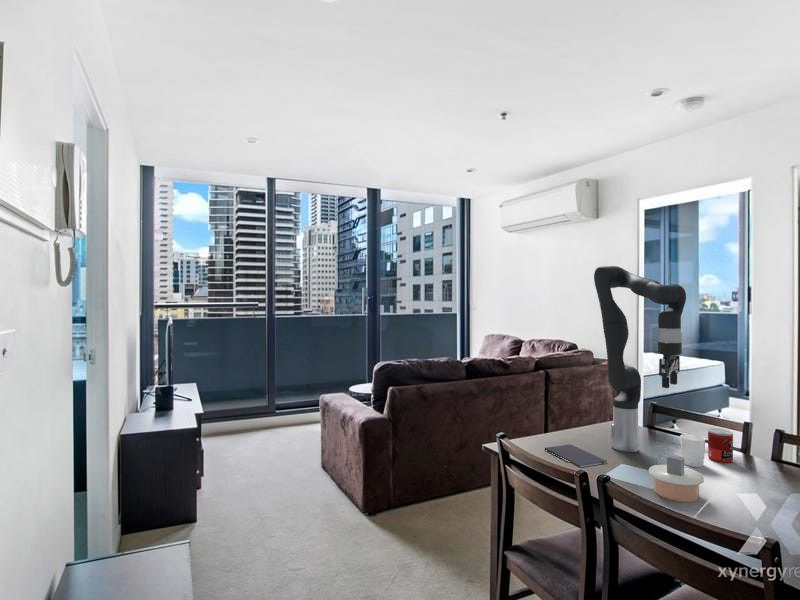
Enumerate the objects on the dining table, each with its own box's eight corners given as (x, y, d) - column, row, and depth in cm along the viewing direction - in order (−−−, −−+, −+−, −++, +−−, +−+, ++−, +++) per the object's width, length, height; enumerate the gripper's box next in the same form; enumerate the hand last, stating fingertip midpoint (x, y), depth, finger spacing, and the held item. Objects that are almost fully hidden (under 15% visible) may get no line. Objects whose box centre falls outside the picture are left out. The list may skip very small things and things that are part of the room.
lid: (641, 475, 150) (641, 457, 149) (658, 463, 160) (658, 446, 160) (695, 489, 138) (695, 470, 138) (710, 475, 149) (710, 457, 148)
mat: (603, 476, 164) (603, 475, 164) (621, 464, 175) (621, 463, 175) (652, 490, 152) (652, 489, 152) (669, 476, 163) (669, 475, 163)
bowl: (648, 494, 149) (648, 475, 149) (661, 483, 158) (661, 465, 158) (691, 506, 141) (691, 486, 141) (702, 494, 149) (702, 475, 149)
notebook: (544, 451, 192) (579, 470, 172) (544, 447, 192) (579, 465, 172) (570, 447, 196) (608, 465, 176) (570, 444, 196) (608, 461, 176)
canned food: (725, 465, 173) (725, 435, 173) (703, 458, 180) (703, 429, 180) (737, 461, 177) (737, 432, 177) (715, 455, 184) (715, 426, 184)
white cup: (709, 468, 170) (709, 441, 170) (685, 467, 172) (685, 439, 172) (700, 461, 178) (699, 434, 178) (677, 459, 179) (676, 433, 179)
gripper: (664, 338, 176) (665, 382, 177) (651, 341, 167) (651, 387, 167) (687, 339, 171) (687, 384, 171) (674, 343, 161) (674, 390, 161)
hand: (669, 386), depth 169 cm, fingers open, 8 cm apart
